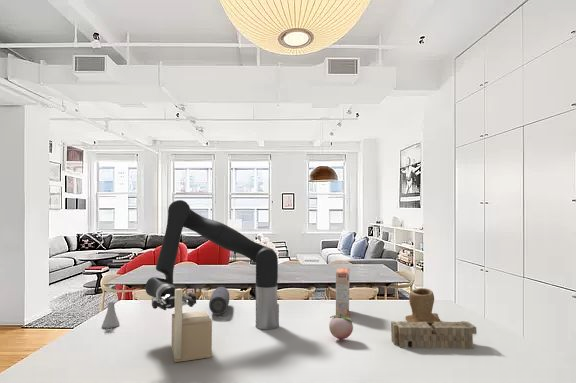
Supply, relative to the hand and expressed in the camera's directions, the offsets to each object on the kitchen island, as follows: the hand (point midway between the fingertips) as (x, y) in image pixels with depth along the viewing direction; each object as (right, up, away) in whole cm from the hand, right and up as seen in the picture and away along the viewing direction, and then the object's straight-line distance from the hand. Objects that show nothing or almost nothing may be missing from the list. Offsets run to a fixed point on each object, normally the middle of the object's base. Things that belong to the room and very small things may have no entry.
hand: (178, 305), depth 128 cm
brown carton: (+1, -19, +11) cm, 22 cm away
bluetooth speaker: (+2, -22, +65) cm, 69 cm away
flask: (-41, -21, +40) cm, 61 cm away
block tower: (+89, -20, +18) cm, 93 cm away
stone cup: (+95, -21, +44) cm, 107 cm away
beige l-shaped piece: (+4, -19, +2) cm, 19 cm away
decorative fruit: (+56, -20, +22) cm, 63 cm away
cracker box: (+62, -22, +59) cm, 88 cm away
